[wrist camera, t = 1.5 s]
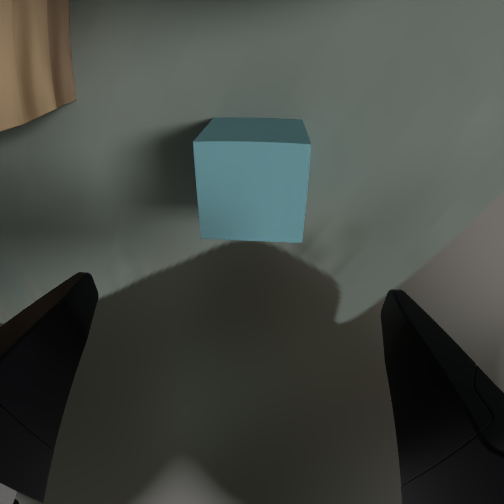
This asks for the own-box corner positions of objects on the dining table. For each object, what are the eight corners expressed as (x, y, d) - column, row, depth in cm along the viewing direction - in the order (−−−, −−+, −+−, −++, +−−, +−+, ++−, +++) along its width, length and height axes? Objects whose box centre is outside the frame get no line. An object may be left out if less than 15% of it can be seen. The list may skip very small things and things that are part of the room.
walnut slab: (73, -24, 11) (45, -28, 9) (79, 98, 17) (53, 109, 14) (-14, 21, 12) (-41, 25, 9) (-4, 122, 17) (-29, 135, 15)
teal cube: (302, 119, 17) (311, 144, 13) (297, 197, 20) (301, 242, 16) (213, 117, 17) (192, 141, 13) (217, 194, 20) (201, 238, 16)
